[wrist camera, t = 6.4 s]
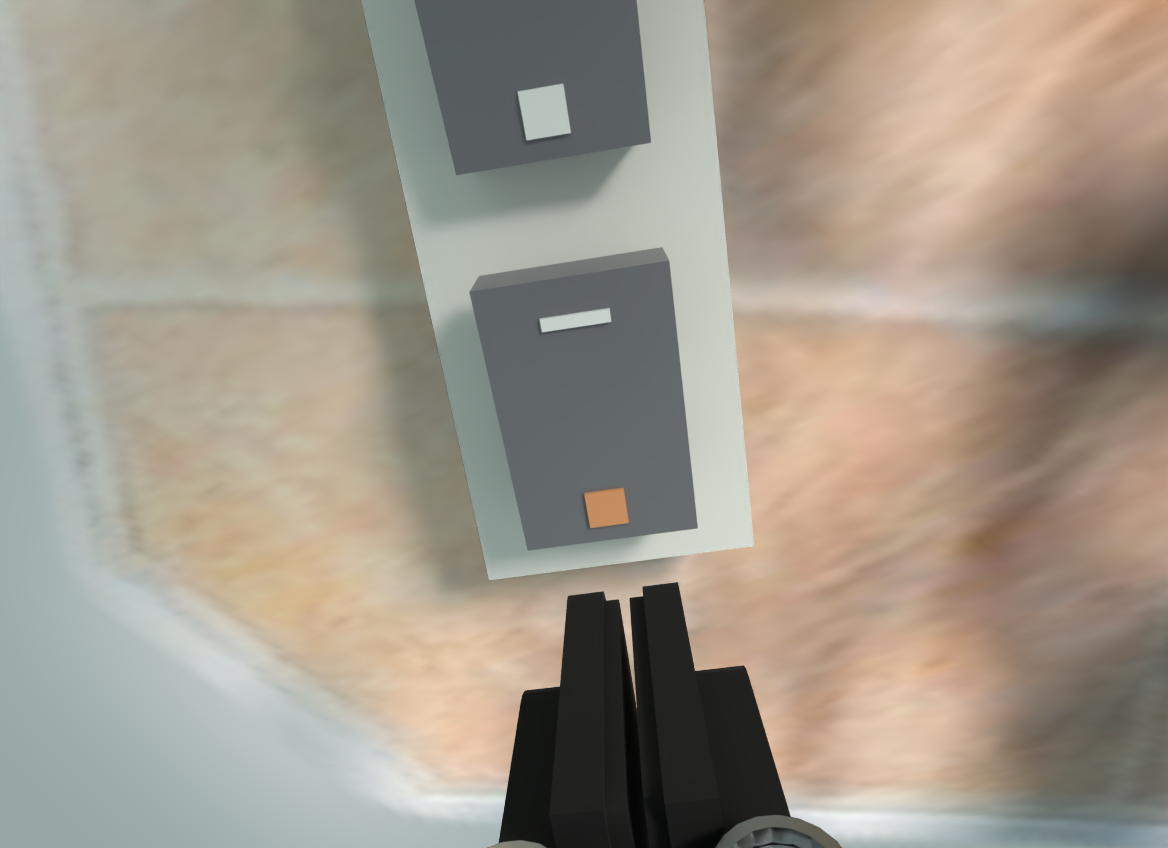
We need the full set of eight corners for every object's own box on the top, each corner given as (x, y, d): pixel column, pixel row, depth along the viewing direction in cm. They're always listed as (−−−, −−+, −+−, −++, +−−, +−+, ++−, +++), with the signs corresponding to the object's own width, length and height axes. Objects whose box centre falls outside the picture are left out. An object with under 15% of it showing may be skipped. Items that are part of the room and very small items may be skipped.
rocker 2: (478, 276, 17) (468, 292, 16) (661, 247, 17) (669, 261, 16) (531, 518, 20) (527, 553, 19) (689, 497, 20) (698, 530, 18)
